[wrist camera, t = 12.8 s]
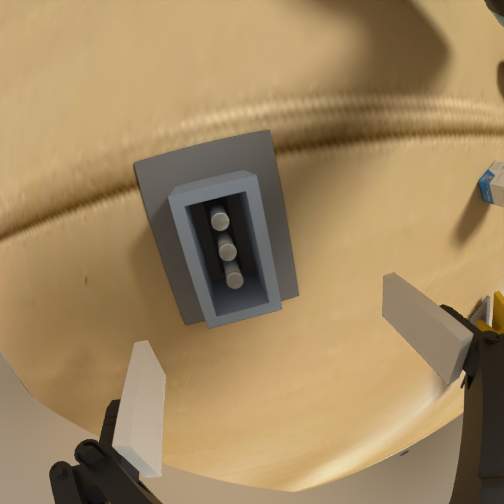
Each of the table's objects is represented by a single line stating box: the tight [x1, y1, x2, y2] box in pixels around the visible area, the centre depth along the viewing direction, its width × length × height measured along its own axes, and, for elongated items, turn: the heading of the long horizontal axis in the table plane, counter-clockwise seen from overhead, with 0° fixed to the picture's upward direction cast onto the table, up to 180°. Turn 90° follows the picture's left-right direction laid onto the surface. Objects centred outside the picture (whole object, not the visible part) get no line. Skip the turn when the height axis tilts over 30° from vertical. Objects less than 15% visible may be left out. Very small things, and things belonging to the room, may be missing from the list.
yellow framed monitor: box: [470, 291, 504, 334], centre depth 46 cm, size 20×8×16 cm, turn 30°
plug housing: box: [168, 170, 282, 329], centre depth 31 cm, size 14×8×8 cm, turn 12°
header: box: [134, 130, 299, 325], centre depth 32 cm, size 22×16×7 cm
